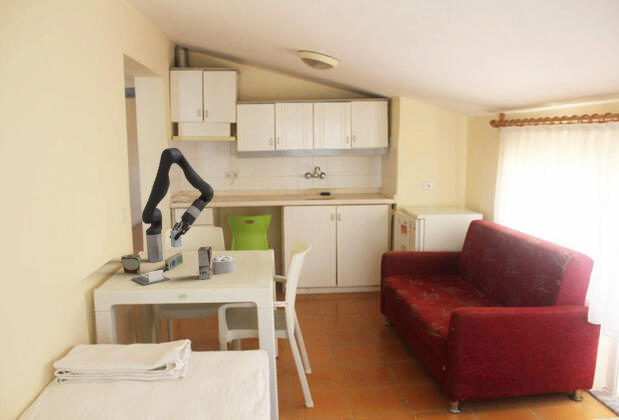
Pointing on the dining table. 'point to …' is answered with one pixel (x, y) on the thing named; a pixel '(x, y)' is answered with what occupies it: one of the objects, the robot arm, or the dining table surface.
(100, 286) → the dining table surface
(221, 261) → the lumpy-topped squat cylinder
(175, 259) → the handheld radio
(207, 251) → the coffee box
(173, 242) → the block
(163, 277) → the charging dock
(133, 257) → the food container
